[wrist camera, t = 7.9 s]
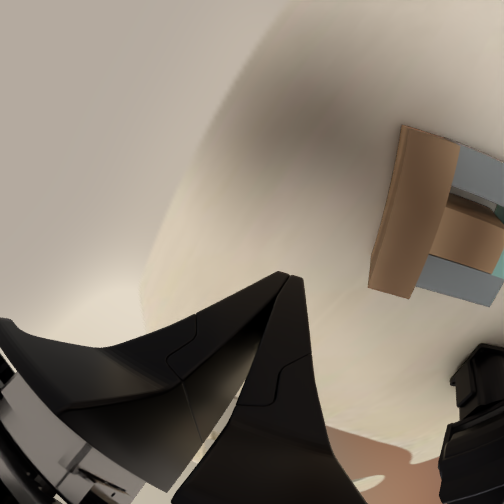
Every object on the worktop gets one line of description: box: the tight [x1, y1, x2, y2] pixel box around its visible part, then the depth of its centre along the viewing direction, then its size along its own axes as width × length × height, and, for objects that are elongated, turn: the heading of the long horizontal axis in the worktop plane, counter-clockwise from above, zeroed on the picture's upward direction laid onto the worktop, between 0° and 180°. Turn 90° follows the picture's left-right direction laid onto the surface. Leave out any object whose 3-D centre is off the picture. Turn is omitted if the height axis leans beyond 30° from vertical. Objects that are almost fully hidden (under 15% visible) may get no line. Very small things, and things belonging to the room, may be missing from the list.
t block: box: [368, 125, 504, 299], centre depth 14 cm, size 8×10×4 cm
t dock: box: [416, 137, 504, 307], centre depth 14 cm, size 7×10×3 cm
